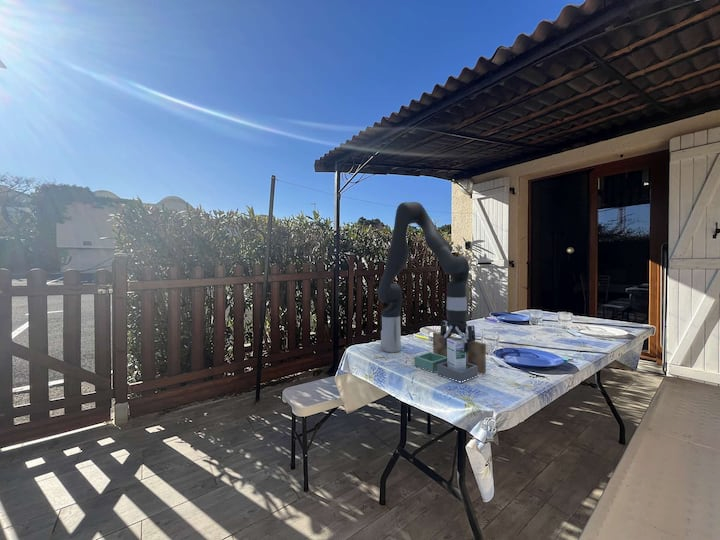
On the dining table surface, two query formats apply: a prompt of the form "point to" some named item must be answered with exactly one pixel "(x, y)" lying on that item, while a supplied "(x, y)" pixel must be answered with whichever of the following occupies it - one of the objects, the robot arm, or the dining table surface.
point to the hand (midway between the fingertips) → (457, 349)
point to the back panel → (474, 355)
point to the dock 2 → (457, 372)
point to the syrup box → (456, 354)
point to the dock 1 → (429, 361)
